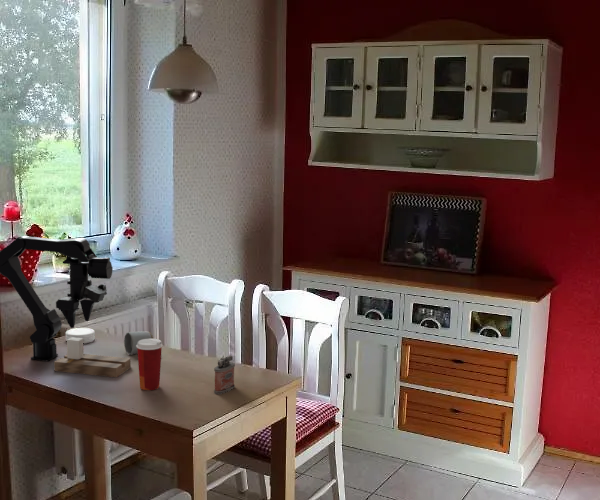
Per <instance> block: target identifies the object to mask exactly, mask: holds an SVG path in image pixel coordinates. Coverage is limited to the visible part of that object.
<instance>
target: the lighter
mask: <svg viewBox="0 0 600 500" xmlns="http://www.w3.org/2000/svg"><path fill="white" fill-rule="evenodd" d="M233 357H234V356H233V355H232V354H231V355H226V356H225V357H223V356H222V357H221V358H220V359H219V360H217V366H215V367H214V370H213V371H214V390H213V393H214V394H215V395H222V393H223V394H226V393H228V392H230V391H232V390H234V389H235V388H234V387H236V386H235V366H236V363H235V362H232V361H233V359H234V358H233ZM233 388H234V389H233ZM231 389H232V390H231ZM227 391H228V392H227ZM225 392H226V393H225Z"/></svg>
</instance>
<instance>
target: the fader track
mask: <svg viewBox="0 0 600 500" xmlns="http://www.w3.org/2000/svg"><path fill="white" fill-rule="evenodd" d="M131 360H132V359H131V358H130V357H119V356H110V355H109V356H108V355H101V354H100V355H99V354H90V353H89V354H87V353H84V357H82V358H80V359H78V360H76V359H70V358H67V354H65V355H64V356H63V357H60V358H58V359H57V360H55V361H54V362H53V365H54V366H53V367H54V372H63V373H69V374H70V373H72V374H80V375H91V376H100V377H109V378H111V377H112V378H118V377H120V376H121V375H122V374H123V373H125V372H126V371H127V370H129V369H131V362H132V361H131Z"/></svg>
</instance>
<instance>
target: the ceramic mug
mask: <svg viewBox="0 0 600 500" xmlns="http://www.w3.org/2000/svg"><path fill="white" fill-rule="evenodd" d="M143 339H154V337H153V334H152V333H151V332H150V331H145V330H142V331H141V330H140V331H128V332H126V333H125V335H124V339H123V343H124V350H125V352H126V353H127V355H129V356H131V355H138V350H137V347H136V345H137V343H138V341H140V340H143Z"/></svg>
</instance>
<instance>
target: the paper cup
mask: <svg viewBox="0 0 600 500" xmlns="http://www.w3.org/2000/svg"><path fill="white" fill-rule="evenodd" d="M136 347H137V350H138V354H137V360H138V361H137V363H138V375H139V376H138V378H139V387H140V390H143V391H154V390H157V389H159V388H160V381H161V380H160V379H161V367H162V366H161V365H162V347H164V345H163V343H162V340H160V339H159V338H158V339H157V338H153V339H143V340H140V341H138V343H137V345H136Z"/></svg>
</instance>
